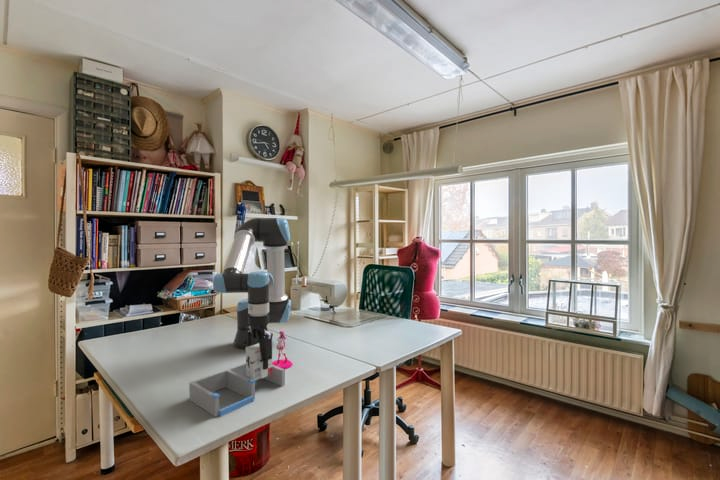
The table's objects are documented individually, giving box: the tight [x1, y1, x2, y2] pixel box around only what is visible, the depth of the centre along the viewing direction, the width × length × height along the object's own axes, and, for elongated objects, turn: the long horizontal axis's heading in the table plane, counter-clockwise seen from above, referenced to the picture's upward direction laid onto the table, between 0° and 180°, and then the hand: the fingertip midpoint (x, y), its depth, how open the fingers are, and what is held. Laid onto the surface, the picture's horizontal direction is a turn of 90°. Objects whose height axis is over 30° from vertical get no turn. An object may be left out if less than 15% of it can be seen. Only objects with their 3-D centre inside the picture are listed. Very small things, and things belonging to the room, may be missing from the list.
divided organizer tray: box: [188, 362, 286, 417], centre depth 123 cm, size 18×28×7 cm, turn 142°
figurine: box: [272, 330, 294, 370], centre depth 147 cm, size 10×10×15 cm
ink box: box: [245, 343, 273, 381], centre depth 127 cm, size 8×5×12 cm, turn 140°
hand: (259, 374), depth 127 cm, fingers closed on ink box, 5 cm apart
